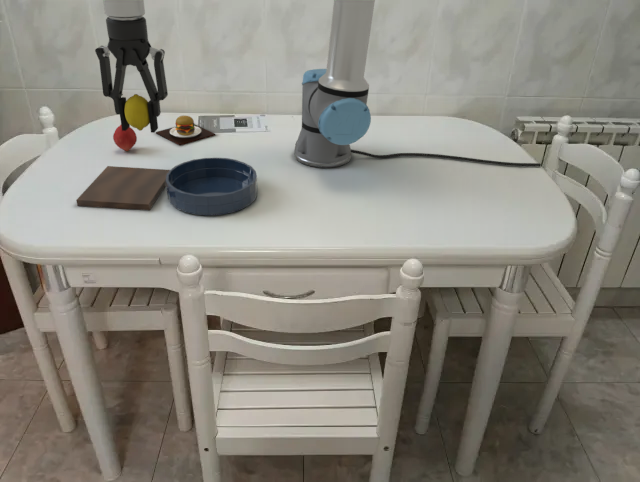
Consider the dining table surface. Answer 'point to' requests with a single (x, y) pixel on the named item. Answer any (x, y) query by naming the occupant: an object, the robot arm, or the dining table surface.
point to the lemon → (137, 112)
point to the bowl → (211, 186)
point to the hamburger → (185, 131)
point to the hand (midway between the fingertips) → (140, 129)
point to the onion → (124, 138)
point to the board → (125, 188)
